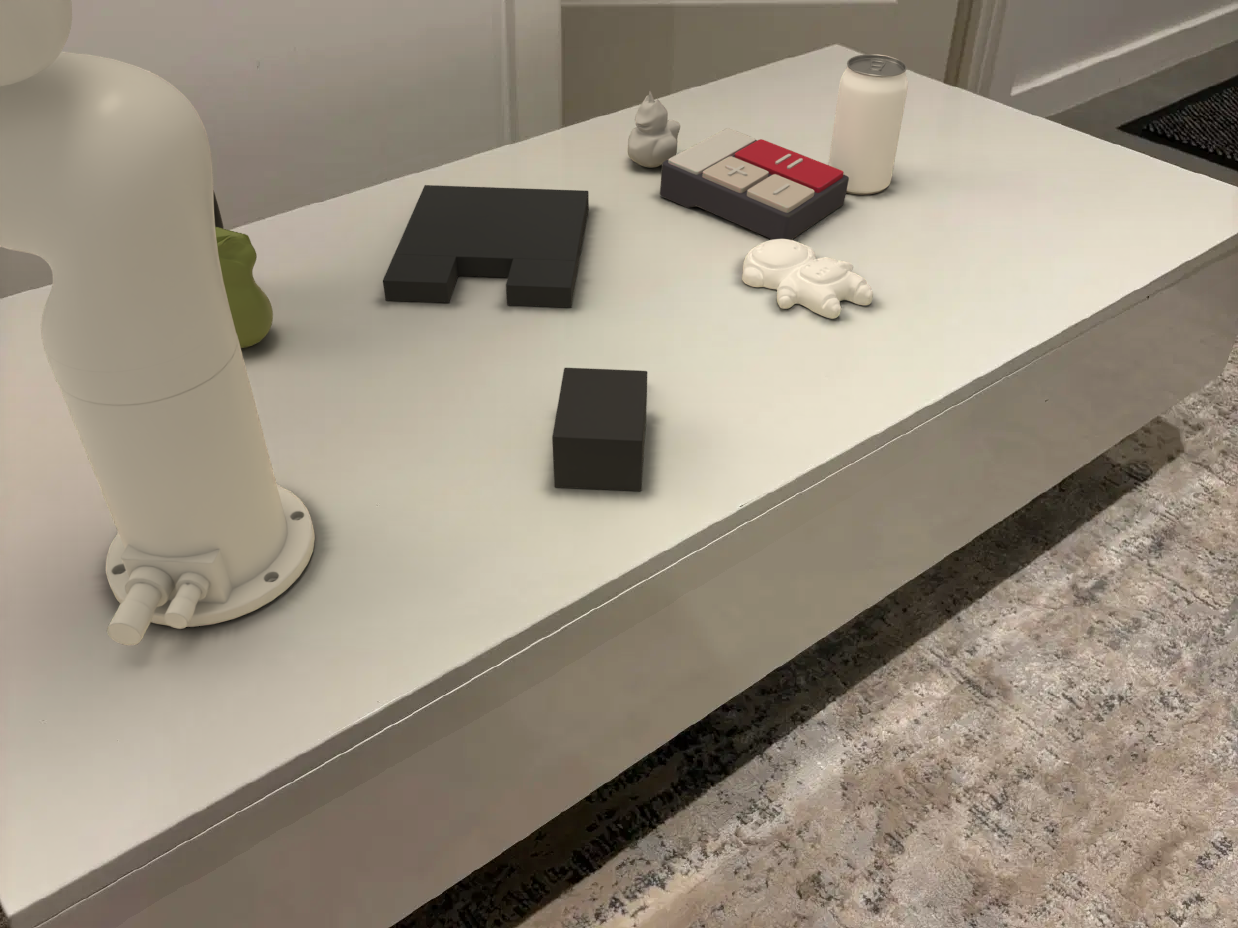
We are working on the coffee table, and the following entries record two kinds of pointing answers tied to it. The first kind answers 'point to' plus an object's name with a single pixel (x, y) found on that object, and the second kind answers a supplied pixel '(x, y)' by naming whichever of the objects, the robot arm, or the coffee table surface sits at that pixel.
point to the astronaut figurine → (804, 277)
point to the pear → (243, 287)
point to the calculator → (754, 184)
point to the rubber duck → (653, 134)
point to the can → (868, 121)
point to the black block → (600, 429)
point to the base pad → (491, 244)
